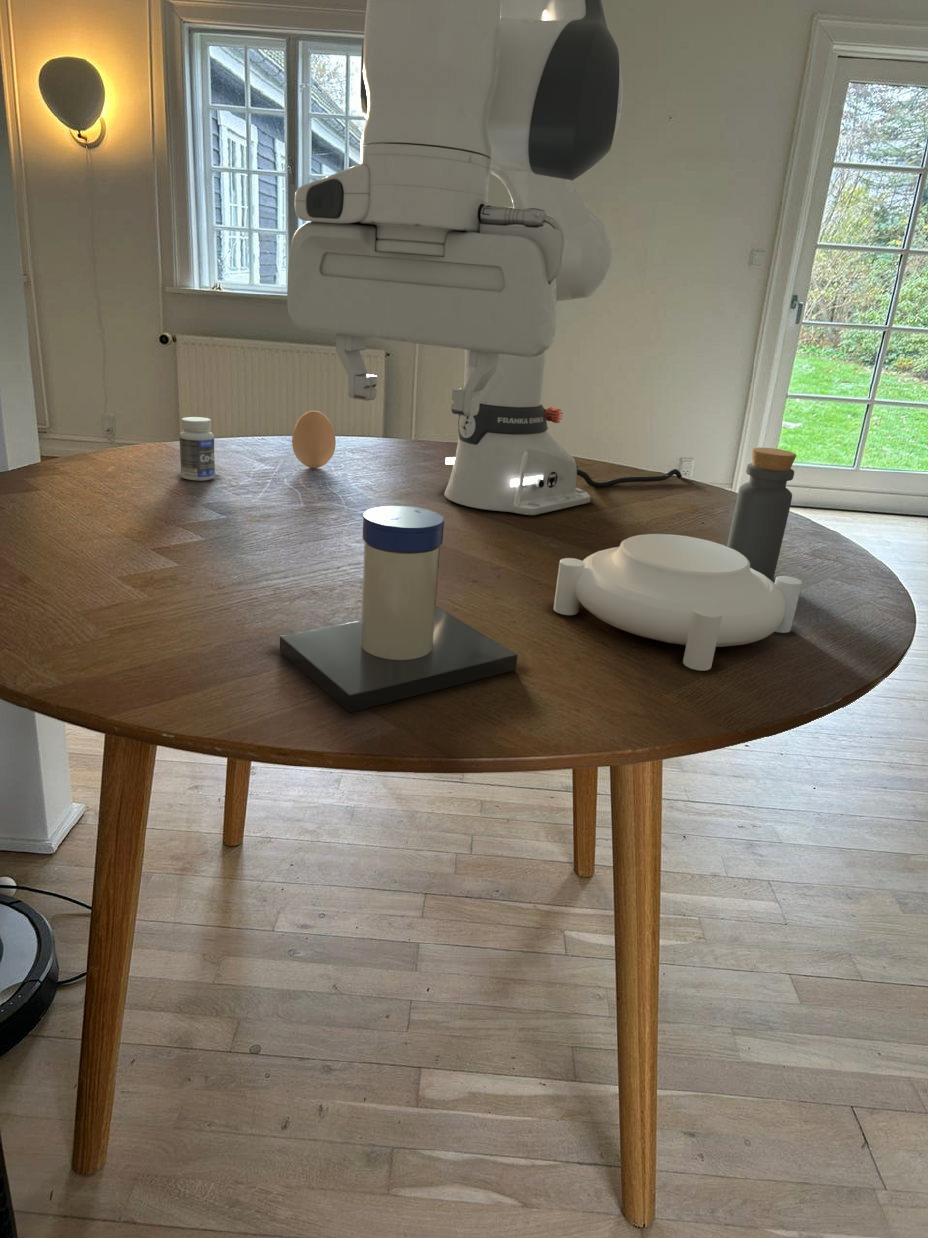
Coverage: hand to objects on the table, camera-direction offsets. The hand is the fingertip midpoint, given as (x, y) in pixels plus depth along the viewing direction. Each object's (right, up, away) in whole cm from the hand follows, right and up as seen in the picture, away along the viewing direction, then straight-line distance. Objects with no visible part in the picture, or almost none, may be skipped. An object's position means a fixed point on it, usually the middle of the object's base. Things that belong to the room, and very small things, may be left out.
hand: (412, 406), depth 64 cm
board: (-2, -19, +8) cm, 21 cm away
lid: (-1, -8, +3) cm, 9 cm away
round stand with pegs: (+25, -16, +22) cm, 37 cm away
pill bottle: (-35, +5, +60) cm, 70 cm away
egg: (-20, +8, +72) cm, 75 cm away
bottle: (+37, -11, +37) cm, 53 cm away
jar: (-2, -18, +7) cm, 20 cm away
